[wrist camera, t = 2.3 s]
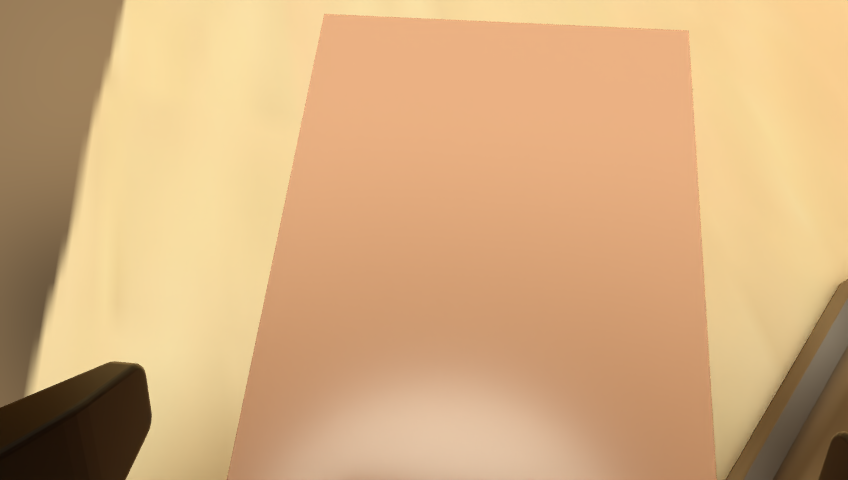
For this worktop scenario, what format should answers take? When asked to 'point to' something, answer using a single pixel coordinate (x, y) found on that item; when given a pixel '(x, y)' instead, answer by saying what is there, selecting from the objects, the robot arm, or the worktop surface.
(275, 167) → the worktop surface
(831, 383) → the rack
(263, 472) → the clay bar
